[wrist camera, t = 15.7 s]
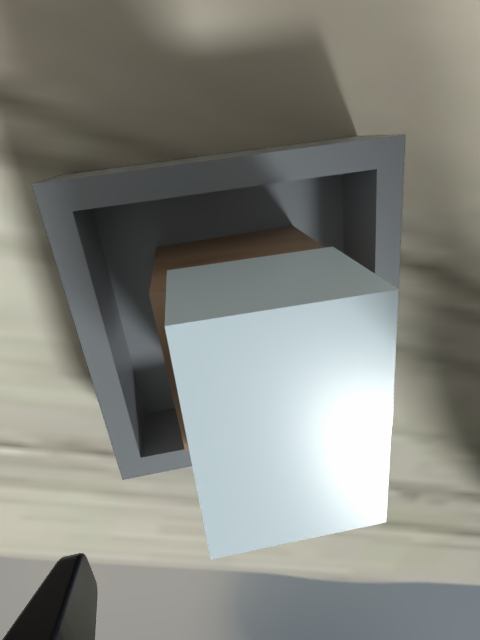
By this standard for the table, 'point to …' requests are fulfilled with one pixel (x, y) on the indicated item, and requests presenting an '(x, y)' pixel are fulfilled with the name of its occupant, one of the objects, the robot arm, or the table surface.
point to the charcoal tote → (192, 225)
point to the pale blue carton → (284, 394)
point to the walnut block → (210, 254)
